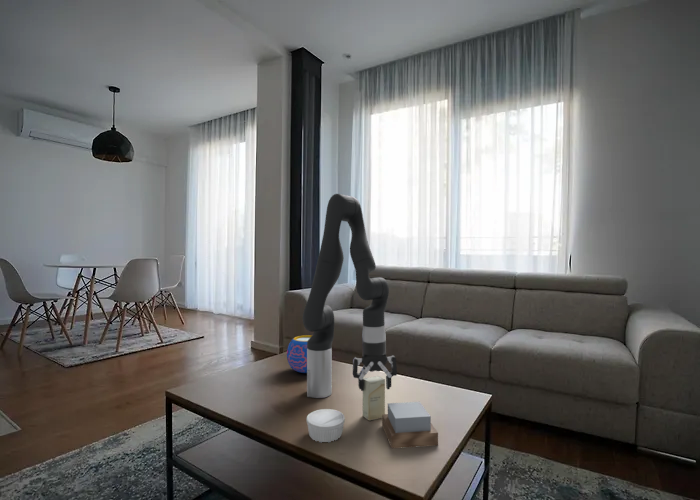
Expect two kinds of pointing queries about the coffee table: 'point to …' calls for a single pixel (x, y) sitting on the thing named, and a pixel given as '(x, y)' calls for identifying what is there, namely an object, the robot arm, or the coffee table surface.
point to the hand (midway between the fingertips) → (375, 389)
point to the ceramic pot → (298, 353)
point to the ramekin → (325, 425)
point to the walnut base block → (409, 436)
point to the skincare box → (373, 397)
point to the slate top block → (409, 417)
